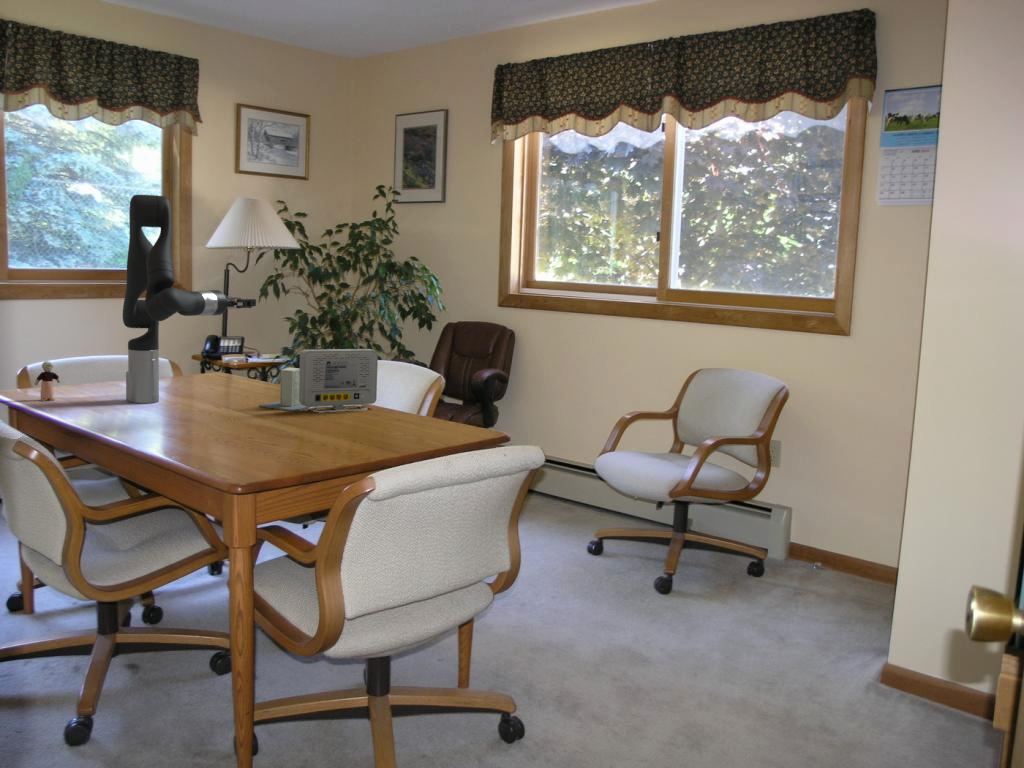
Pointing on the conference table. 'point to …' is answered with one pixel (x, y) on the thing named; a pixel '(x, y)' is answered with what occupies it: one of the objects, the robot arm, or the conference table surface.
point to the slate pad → (288, 408)
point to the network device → (338, 378)
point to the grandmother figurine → (47, 381)
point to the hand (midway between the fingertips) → (244, 301)
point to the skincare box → (289, 387)
